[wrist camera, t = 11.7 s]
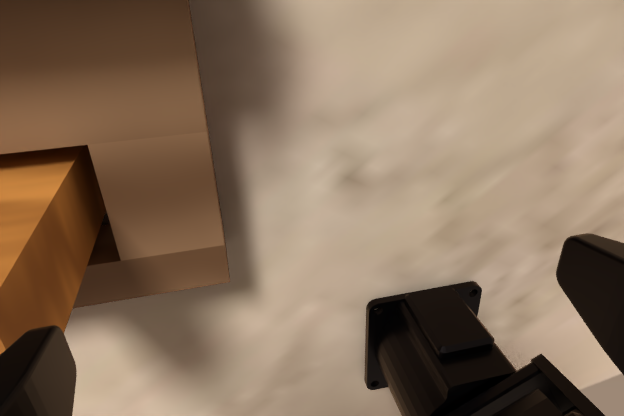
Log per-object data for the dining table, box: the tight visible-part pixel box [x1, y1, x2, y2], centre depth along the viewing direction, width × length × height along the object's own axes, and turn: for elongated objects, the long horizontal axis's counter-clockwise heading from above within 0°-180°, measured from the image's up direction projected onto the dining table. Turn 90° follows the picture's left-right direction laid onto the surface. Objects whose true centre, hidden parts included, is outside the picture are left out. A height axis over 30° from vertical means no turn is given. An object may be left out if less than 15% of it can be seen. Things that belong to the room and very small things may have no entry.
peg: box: [0, 145, 106, 354], centre depth 14 cm, size 3×3×10 cm
